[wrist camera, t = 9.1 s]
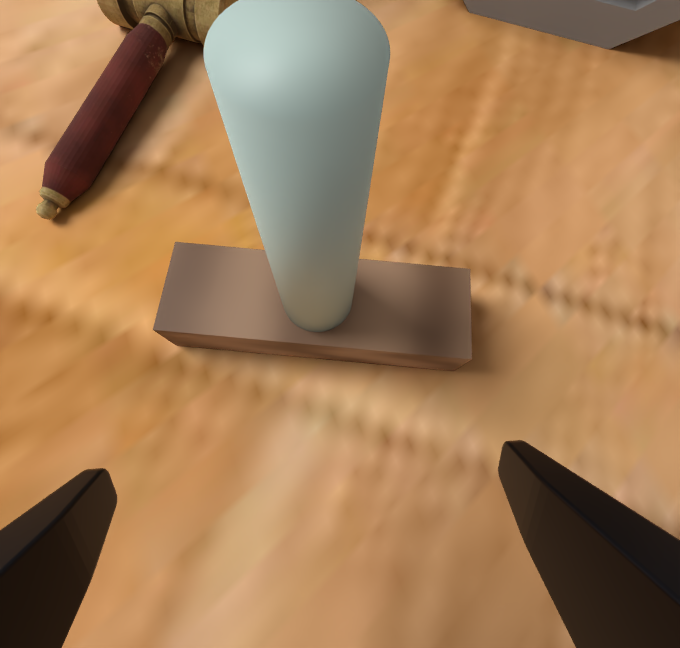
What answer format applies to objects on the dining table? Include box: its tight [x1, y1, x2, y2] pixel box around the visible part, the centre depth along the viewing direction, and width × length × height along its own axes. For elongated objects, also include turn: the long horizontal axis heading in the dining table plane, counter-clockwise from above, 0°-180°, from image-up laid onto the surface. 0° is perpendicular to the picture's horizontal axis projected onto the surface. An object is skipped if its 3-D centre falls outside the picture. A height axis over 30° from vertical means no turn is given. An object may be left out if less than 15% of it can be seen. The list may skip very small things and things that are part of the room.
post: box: [204, 0, 390, 332], centre depth 14 cm, size 4×4×13 cm
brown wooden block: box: [153, 242, 472, 371], centre depth 21 cm, size 16×5×3 cm, turn 85°
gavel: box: [36, 0, 238, 220], centre depth 26 cm, size 21×5×10 cm
